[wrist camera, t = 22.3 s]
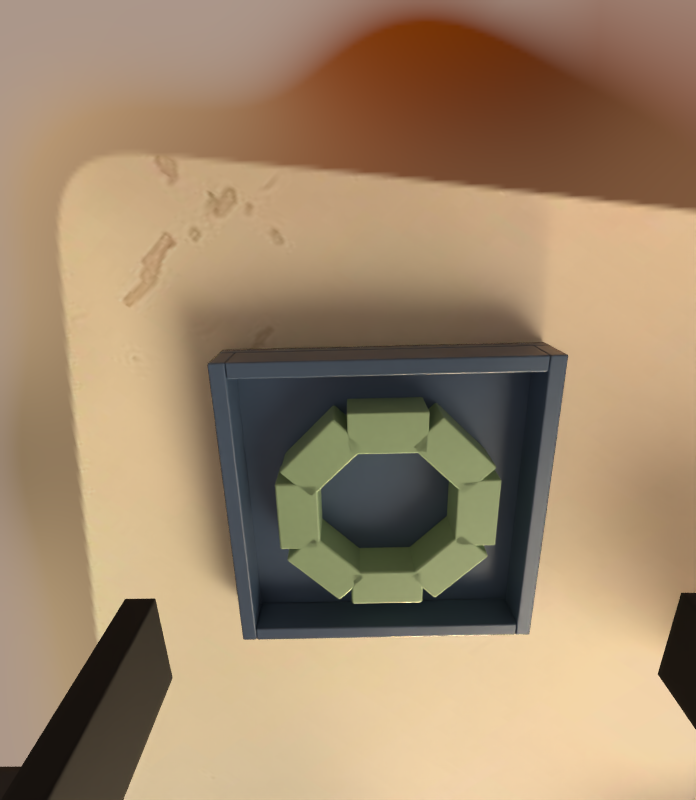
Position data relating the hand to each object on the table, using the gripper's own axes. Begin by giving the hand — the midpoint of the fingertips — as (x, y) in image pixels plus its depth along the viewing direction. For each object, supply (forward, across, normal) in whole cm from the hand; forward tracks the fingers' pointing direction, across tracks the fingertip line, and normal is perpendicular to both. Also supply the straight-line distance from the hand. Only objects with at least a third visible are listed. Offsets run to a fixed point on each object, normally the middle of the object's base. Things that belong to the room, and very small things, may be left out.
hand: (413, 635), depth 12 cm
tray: (+8, 0, 0) cm, 8 cm away
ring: (+7, 0, 0) cm, 7 cm away
